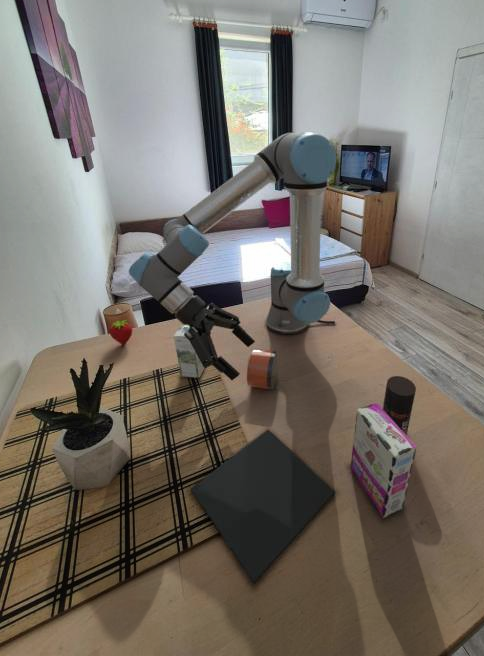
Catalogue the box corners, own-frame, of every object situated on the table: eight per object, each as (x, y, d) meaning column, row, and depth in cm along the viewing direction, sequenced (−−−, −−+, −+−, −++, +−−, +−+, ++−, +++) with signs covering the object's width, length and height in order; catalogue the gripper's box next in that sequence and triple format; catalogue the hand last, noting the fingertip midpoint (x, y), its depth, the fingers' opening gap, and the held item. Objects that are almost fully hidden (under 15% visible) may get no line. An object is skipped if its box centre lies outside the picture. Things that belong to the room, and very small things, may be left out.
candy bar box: (404, 508, 61) (418, 447, 54) (383, 520, 59) (394, 458, 53) (368, 457, 70) (377, 400, 64) (349, 466, 69) (355, 408, 62)
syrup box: (206, 365, 98) (201, 324, 92) (199, 379, 93) (193, 336, 87) (187, 364, 98) (181, 323, 93) (179, 377, 93) (172, 335, 87)
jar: (245, 389, 84) (249, 350, 86) (254, 382, 94) (258, 347, 95) (269, 393, 83) (273, 353, 85) (276, 385, 93) (280, 349, 94)
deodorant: (387, 420, 79) (395, 372, 73) (410, 435, 75) (420, 385, 69) (374, 435, 76) (381, 385, 70) (397, 451, 72) (407, 400, 66)
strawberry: (121, 337, 111) (114, 312, 107) (139, 340, 109) (134, 315, 105) (107, 347, 106) (101, 321, 102) (127, 351, 104) (120, 324, 100)
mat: (268, 430, 77) (268, 429, 76) (334, 493, 63) (334, 491, 63) (191, 490, 64) (190, 488, 64) (254, 584, 51) (253, 582, 50)
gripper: (197, 291, 95) (248, 339, 98) (148, 340, 72) (217, 401, 76) (212, 275, 92) (265, 326, 95) (167, 322, 69) (238, 386, 73)
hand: (244, 359), depth 86 cm, fingers open, 13 cm apart
